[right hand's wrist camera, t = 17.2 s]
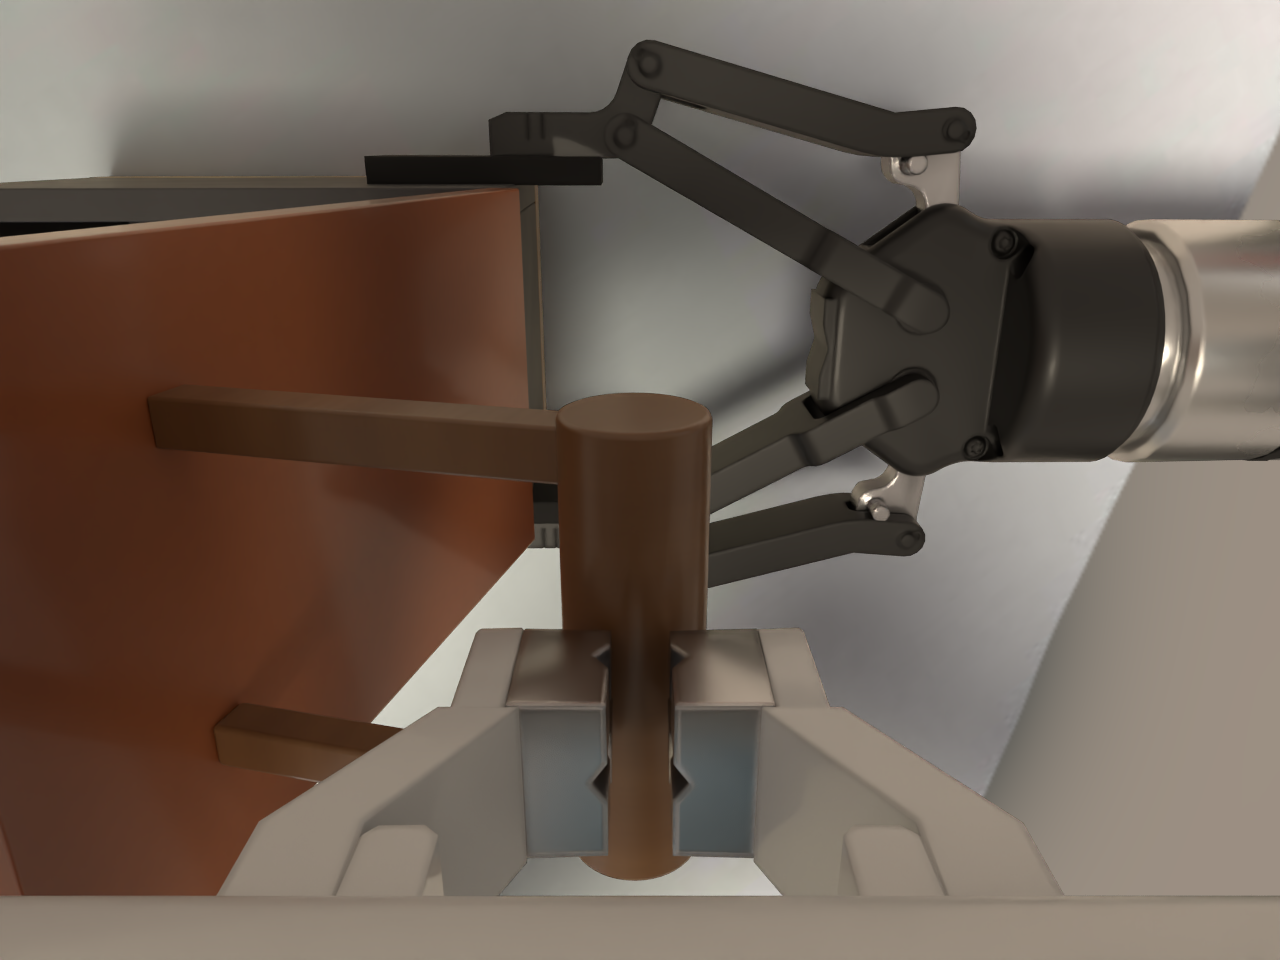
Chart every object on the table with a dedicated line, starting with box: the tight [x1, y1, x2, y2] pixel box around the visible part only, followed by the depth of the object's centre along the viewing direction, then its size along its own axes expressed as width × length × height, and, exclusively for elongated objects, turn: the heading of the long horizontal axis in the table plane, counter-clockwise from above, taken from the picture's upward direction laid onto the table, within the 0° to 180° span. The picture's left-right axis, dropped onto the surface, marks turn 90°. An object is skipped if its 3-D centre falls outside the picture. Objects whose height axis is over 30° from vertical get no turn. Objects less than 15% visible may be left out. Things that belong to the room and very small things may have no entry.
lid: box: [0, 188, 712, 896], centre depth 16 cm, size 16×10×8 cm
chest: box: [0, 176, 546, 489], centre depth 29 cm, size 15×10×10 cm, turn 90°
